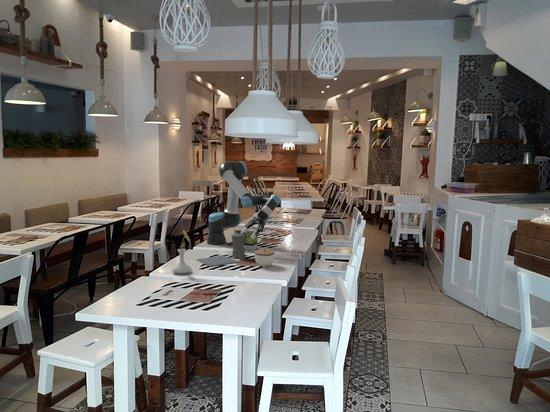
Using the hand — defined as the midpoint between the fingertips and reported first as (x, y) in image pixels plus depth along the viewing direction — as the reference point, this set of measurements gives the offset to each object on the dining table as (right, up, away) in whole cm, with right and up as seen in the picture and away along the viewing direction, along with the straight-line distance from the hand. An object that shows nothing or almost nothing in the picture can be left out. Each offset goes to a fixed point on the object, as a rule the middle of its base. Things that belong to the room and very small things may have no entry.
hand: (246, 237), depth 297 cm
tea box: (-2, -11, +24) cm, 26 cm away
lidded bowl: (+13, -17, -24) cm, 32 cm away
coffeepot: (-5, -13, 0) cm, 14 cm away
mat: (-18, -15, -14) cm, 27 cm away
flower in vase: (-35, -18, -40) cm, 57 cm away
